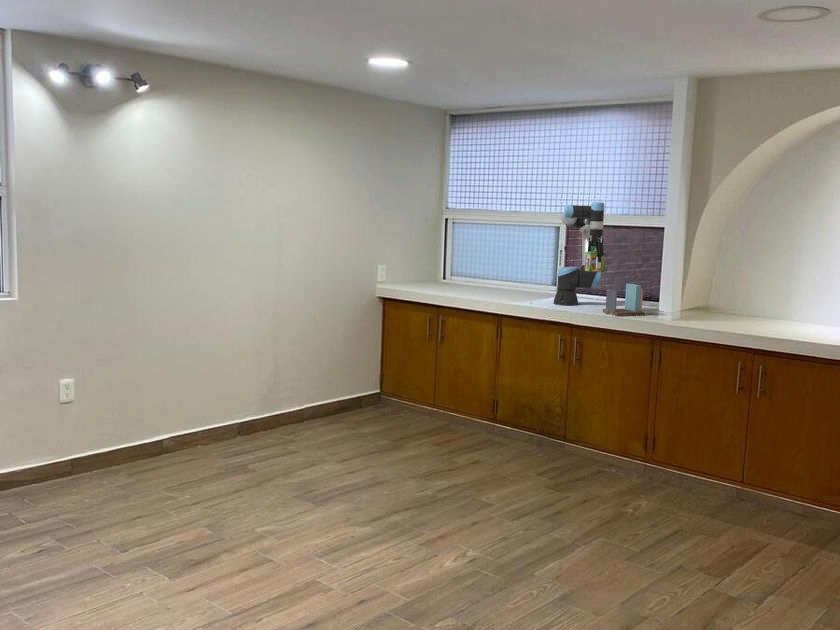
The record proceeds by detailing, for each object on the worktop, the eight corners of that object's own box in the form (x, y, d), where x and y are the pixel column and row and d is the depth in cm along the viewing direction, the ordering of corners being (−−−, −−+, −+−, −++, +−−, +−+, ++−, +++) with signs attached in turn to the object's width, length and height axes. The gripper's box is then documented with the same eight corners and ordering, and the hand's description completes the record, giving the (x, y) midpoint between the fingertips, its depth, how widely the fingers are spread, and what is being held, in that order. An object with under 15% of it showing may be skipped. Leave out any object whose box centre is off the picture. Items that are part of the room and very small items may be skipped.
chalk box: (589, 272, 468) (590, 246, 466) (583, 270, 477) (585, 245, 475) (604, 272, 470) (606, 247, 468) (598, 271, 479) (600, 246, 477)
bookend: (605, 309, 468) (606, 289, 466) (606, 309, 468) (608, 289, 467) (614, 312, 459) (615, 291, 457) (615, 312, 459) (617, 291, 457)
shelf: (602, 312, 471) (602, 308, 471) (629, 311, 476) (629, 308, 476) (616, 316, 456) (616, 312, 456) (644, 315, 461) (644, 312, 461)
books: (624, 309, 472) (626, 283, 470) (631, 309, 474) (633, 283, 471) (634, 311, 462) (636, 285, 460) (642, 311, 463) (643, 285, 461)
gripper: (582, 228, 480) (580, 265, 483) (599, 229, 459) (597, 268, 462) (593, 228, 482) (591, 265, 484) (611, 229, 461) (609, 268, 463)
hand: (594, 267), depth 473 cm, fingers closed on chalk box, 9 cm apart
